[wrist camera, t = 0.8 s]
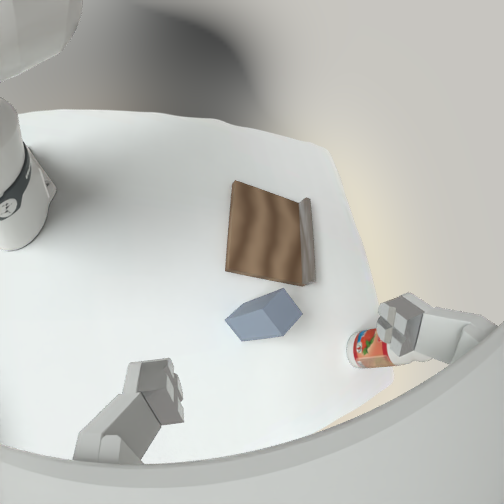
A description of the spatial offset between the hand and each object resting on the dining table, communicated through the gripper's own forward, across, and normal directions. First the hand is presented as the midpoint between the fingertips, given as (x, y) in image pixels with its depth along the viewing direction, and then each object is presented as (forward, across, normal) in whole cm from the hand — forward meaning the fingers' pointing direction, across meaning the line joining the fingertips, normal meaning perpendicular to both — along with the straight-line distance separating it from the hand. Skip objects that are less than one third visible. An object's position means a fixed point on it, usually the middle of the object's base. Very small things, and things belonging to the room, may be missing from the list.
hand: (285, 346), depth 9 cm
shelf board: (+47, -11, +10) cm, 50 cm away
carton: (+34, -2, +22) cm, 41 cm away
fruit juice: (+36, -28, +40) cm, 61 cm away
